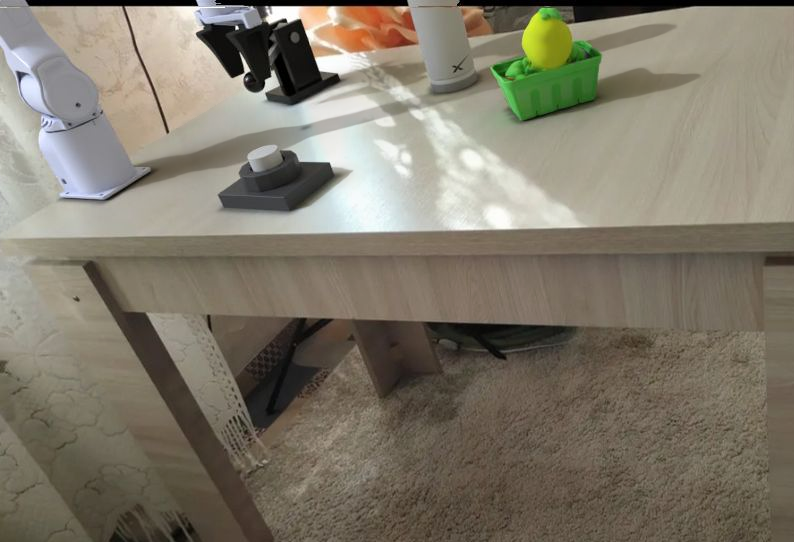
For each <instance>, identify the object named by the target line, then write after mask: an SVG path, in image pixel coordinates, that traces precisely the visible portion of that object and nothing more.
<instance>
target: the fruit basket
mask: <svg viewBox="0 0 794 542" xmlns="http://www.w3.org/2000/svg"><path fill="white" fill-rule="evenodd" d="M545 7H550V6H545ZM537 11H538V12H536V13H535V14H534V15H533V16H532V17H531V19H530V20H529V23H528V24H527V26H526V28H525V30H524V31H523V34H522V39H521V48H522V49H523V51H524V54H525V55H522V56H519V57H516V58H511V59H509V60H505V61H502V62H498V63H495V64H493V65H491V66H490V71H491V73H492V75H493V77H494V78H496V81H497V83H498V85H499V87H500V90H501V92H502V93H503V96H504V99H505V100H506V102H507V104H508V106H509V108H510V110H512V112H513V113H514V115H516V117H517V118H518V119H519V120H520V121H526V120H529V119H533V118H535V117H537V116H542V115H546V114H549V113H554V112H556V111H558V110H563V109H567V108H571V107H573V106H576V105H578V104H584V103H588V102H590V101H593V100H595V99H596V96H597V95H596V94H597V86H598V80H599V72H600V71H599V70H600V64H601V63H602V58H603V53H602V52H600V51H599V50H598V49H597V48H595V46H593V45H592V44H590V43H588V42H587V41H585V40H573V34H572V31H571V29H570V27H569V26H568V24H567V23H566V22H565V21H563V20H564V17H563V16H562V15H561V12H560V11H559V10H558V8H556V7H553V8H543V7H541V8H540V9H539V10H537Z"/></svg>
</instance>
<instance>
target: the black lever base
mask: <svg viewBox="0 0 794 542" xmlns="http://www.w3.org/2000/svg"><path fill="white" fill-rule="evenodd" d="M279 23H287V24H284V25H282V26H280V27H277V26H278V24H279ZM269 26H270V30H269V36H268V51H269V50H270V48H271V47H272V45H273V44H274V43H273V42H272V41H271V40H270V39H269V38H270V36H271V35H272V33H274V36H275V38H276V41H277V44H278V46H279V49H280V53H279V54H278V56H277V57H276V59H275V61H274V62H273V64H272V65H271V67H272V68H273V72H274V74H275V76H276V79H277V82H278V84H279V85H278V86H277V87H274V88H272V89H270V90H268V91H266V92H264V95H265V97H266V100H267V101H268V102H269V101H270V102H275V103H281V104H285V105H291V106H293V105H295V104H296V103H299V102H301V101H303V100H305V99H307V98H309V97H311V96H313V95H315V94H317V93H319V92H321V91H324V90H325V89H328V88H330V87H331V86H333V85H335V84H337V83H340V82H342V81H341V78H340V75H339V73H338V72H330V71H322V70H320V69H319V66H318V63H317V59H316V57H315V54H314V52H313V48H312V46H311V43H310V40H309V38H308V34H307V32H306V29H305V26H304V23H303V20H302V18H296V19H294V20H292V21H289V22H288V20H287V18H286V17H282V18H280V19H277V20H276V21H273V22H270V23H269ZM276 27H277V28H276Z"/></svg>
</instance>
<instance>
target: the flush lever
mask: <svg viewBox="0 0 794 542" xmlns="http://www.w3.org/2000/svg"><path fill="white" fill-rule="evenodd" d="M284 24H287V23H279V24H278V26H277V27H280V26H282V25H284ZM277 27H276V28H277ZM269 39H270V40H271V41H272V42H273V43H274V44H273V45H272V47H271V48H270V50H269V51H268V53H269V61H270V68H271V67H272V64H273V62H274V61H275V59H276V57H277V56H278V54H279V53H280V49H279V46H278V44H277V41H276V38H275V36H274V33H272V35H271V36H270V38H269ZM242 82H243V87H244V88H245V89H246V90H247V91H248V92H249V93H253V94H259V93H261V92H262V91H263V90H264V89H265V87H266V80H264V81H262V82H257V81H256V79H255V78H254V77H253V75H252V73H251V71H250V70H249V71H248V72H246V73H244V76H243V79H242Z"/></svg>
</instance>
